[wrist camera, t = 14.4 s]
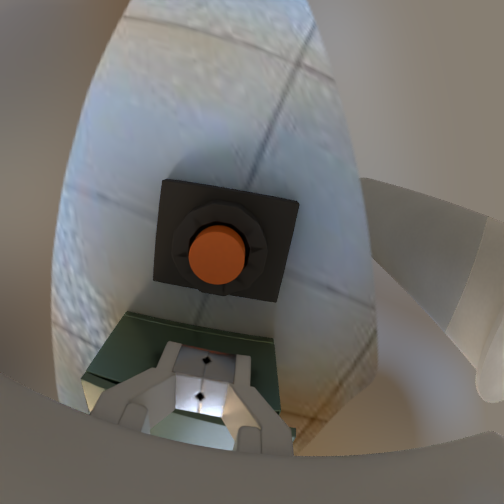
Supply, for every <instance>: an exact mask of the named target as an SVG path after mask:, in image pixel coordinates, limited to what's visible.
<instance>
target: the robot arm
mask: <svg viewBox="0 0 504 504" xmlns="http://www.w3.org/2000/svg"><path fill="white" fill-rule="evenodd" d="M250 376H251V357H250V356H246V355H238V354H237V355H235V354H229V353H223V352H218V351H212V350H208V349H203V348H198V347H194V346H190V345H185V344H180V343H176V342H172V341H169V342H167V344H166V346H165V349H164V351H163V353H162V356H161V358H160V360H159V362H158V365H157V367H156V368H153V367H152V368H150V369H148V370H146V371H144V372H142V373H140V374H138V375H136V376H134V377H132V378H130V379H128V380H126V381H124V382H121V383H119V384H117V385H115V386H113V387H111V388H109V389H107V390H105V391H103V392H102V393H101V395H100V396H99V398H98V400H97V402H96V404H95V405H94V407H93V409H92V411H91V412H90V414H86V413H83V412H81V411H78V410H76V409H73V408H71V407H69V406H66V405H64V404H62V403H60V402H57V401H55V400H53V399H51V398H49V397H46V396H44V395H42V394H40V393H38V392H36V391H34V390H32V389H30V388H28V387H26V386H24V385H23V384H21V383H19V382H17V381H15V380H13V379H12V378H10V377H8V376H6V375H5V374H3V373H1V372H0V504H504V437H503V436H502V435H500V434H498V433H496V432H494V431H487V432H484V433H480V434H477V435H474V436H470V437H466V438H463V439H458V440H454V441H450V442H446V443H441V444H437V445H431V446H427V447H421V448H415V449H409V450H402V451H395V452H387V453H378V454H366V455H353V456H352V455H350V456H316V457H315V456H313V457H311V456H294V454H293V444H292V433H291V429H290V428H289V427H288V425H287V424H286V423H285V422H284V421H283V420H282V419H281V418H280V416H279V415H278V414H277V413H276V412H275V411H274V410H273V408H272V407H271V406H270V405H269V404H268V403H267V402H266V400H265V399H264V398H263V397H262V396H261V394H260V393H259V392H258V391H257V390H256V389H255V387H251V386H250ZM175 409H179V410H184V411H190V412H196V413H198V412H199V413H201V414H205V415H210V416H215V417H221V418H222V420H223V422H224V424H225V425H226V427H227V429H228V431H229V432H230V434H231V436H232V438H233V439H234V441H235V443H234V446H233V449H232V451H230V450H223V449H217V448H211V447H205V446H199V445H194V444H189V443H184V442H179V441H175V440H170V439H166V438H162V437H158V436H154V435H150V429H151V428H152V427H154V426H155V425H156V424H157V423H159V422H160V421H161V420H163V419H164V418H165V417H166V416H168V415H169V414H170V413H171V412H173V411H174V410H175Z"/></svg>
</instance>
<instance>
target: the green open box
mask: <svg viewBox="0 0 504 504" xmlns="http://www.w3.org/2000/svg"><path fill="white" fill-rule="evenodd" d="M169 341H172V342H176V343H180V344H185V345H190V346H194V347H198V348H203V349H208V350H212V351H218V352H223V353H229V354H235V355H237V354H238V355H246V356H250V357H251V376H250V386H251V387H255V389H256V390H257V391H258V392H259V393H260V394H261V396H262V397H263V398H264V399H265V400H266V402H267V403H268V404H269V405H270V406H271V407H272V408H273V410H274V411H275V412H276V413H277V414H278V415H280V412H281V406H280V396H279V386H278V376H277V366H276V356H275V347H274V339H273V338H267V337H260V336H253V335H247V334H240V333H234V332H228V331H222V330H216V329H211V328H205V327H200V326H194V325H189V324H184V323H179V322H174V321H169V320H165V319H160V318H155V317H151V316H147V315H142V314H138V313H134V312H129V311H127V312H126V313H125V314H124V316H123V317H122V318H121V320H120V321H119V323H118V324H117V326H116V327H115V328H114V330H113V331H112V333H111V334H110V336H109V337H108V339H107V340H106V341H105V343H104V344H103V346H102V347H101V349H100V350H99V352H98V353H97V355H96V356H95V358H94V359H93V361H92V362H91V364H90V365H89V367H88V368H87V370H86V372H87V373H89V374H92V375H94V376H96V377H99V378H101V379H104V380H106V381H109V382H111V383H114V384H119V383H121V382H124V381H126V380H128V379H130V378H132V377H134V376H136V375H138V374H140V373H142V372H144V371H146V370H148V369H150V368H152V367H153V368H156V367H157V365H158V362H159V360H160V358H161V356H162V353H163V351H164V349H165V346H166V344H167V342H169Z"/></svg>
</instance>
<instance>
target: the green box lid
mask: <svg viewBox="0 0 504 504" xmlns="http://www.w3.org/2000/svg"><path fill="white" fill-rule="evenodd" d="M81 383H82V387H83V391H84V394H85V398H86V402H87V405H88V409H89V412H91V411H92V409H93V407H94V405H95V404H96V402H97V400H98V398H99V396H100V395H101V393H102V392H103V391H105V390H107V389H109V388H111V387H113V386H115V385H117V384H114V383H111V382H109V381H106V380H104V379H101V378H99V377H96V376H94V375H92V374H89V373H87V372H85V374H84V375H83V376H82V377H81ZM289 428H290V429H291V433H292V443H293V441H294V439H295V437H296V428H291V427H289ZM150 435H154V436H158V437H162V438H166V439H170V440H175V441H179V442H184V443H189V444H194V445H199V446H205V447H211V448H217V449H223V450H230V451H232V449H233V446H234V443H235V441H234V439H233V438H232V436H231V434H230V432H229V431H228V429H227V427H226V425H225V424H224V422H223V420H222V418H221V417H215V416H210V415H205V414H201V413H199V412H198V413H196V412H190V411H184V410H179V409H175V410H174V411H173V412H171V413H170V414H169V415H168V416H166V417H165V418H164V419H163V420H161V421H160V422H159V423H157V424H156V425H155V426H154V427H152V428H151V429H150Z"/></svg>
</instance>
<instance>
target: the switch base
mask: <svg viewBox="0 0 504 504" xmlns="http://www.w3.org/2000/svg"><path fill="white" fill-rule="evenodd" d="M298 209H299V203H298V202H297V201H294V200H289V199H284V198H279V197H274V196H269V195H263V194H258V193H253V192H247V191H241V190H236V189H230V188H224V187H218V186H212V185H206V184H199V183H193V182H186V181H179V180H172V179H165V180H162V186H161V194H160V203H159V212H158V222H157V232H156V244H155V257H154V272H153V281H158V282H163V283H168V284H173V285H178V286H183V287H188V288H194V289H198V290H199V291H201V292H204V293H209V294H215V295H220V296H226V295H233V296H239V297H245V298H251V299H257V300H263V301H269V302H277V298H278V294H279V290H280V286H281V282H282V278H283V274H284V269H285V265H286V261H287V257H288V253H289V248H290V244H291V240H292V235H293V231H294V227H295V222H296V218H297V213H298ZM214 225H223V226H227V227H229V228H231V229H233V230H235V231H236V232H237V233H238V234H239V235H240V236H241V238H242V240H243V242H244V245H245V261H244V267H243V269H242V271H241V273H240V274H239V275H238V276H237V277H236V278H235V279H234V280H232V281H231V282H228V283H225V284H220V285H216V284H210V283H207V282H205V281H203V280H201V279H200V278H199V277H197V276H196V274H195V273H194V272H193V270H192V269H191V266H190V263H189V250H190V247H191V245H192V244H193V242H194V240H195V239H196V237H197V236H198V234H199V233H200V232H201V231H203V230H204V229H206V228H208V227H210V226H214Z"/></svg>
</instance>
